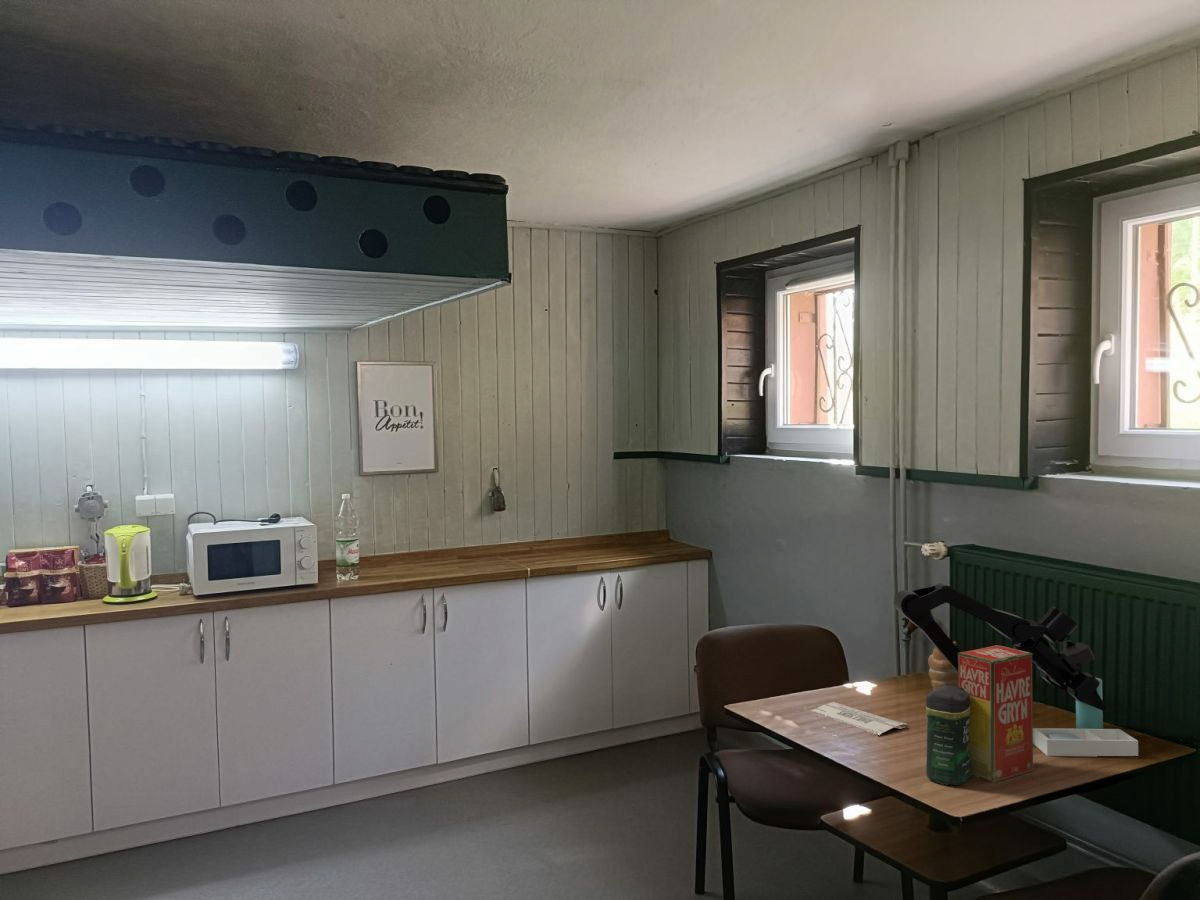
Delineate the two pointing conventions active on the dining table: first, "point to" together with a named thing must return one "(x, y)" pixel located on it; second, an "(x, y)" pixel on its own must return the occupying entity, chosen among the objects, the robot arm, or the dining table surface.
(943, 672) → the cat ice cream
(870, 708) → the dining table surface
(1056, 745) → the rack
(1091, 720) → the teal rounded block
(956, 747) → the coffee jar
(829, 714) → the newspaper
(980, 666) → the food packaging
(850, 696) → the dining table surface
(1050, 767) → the dining table surface
